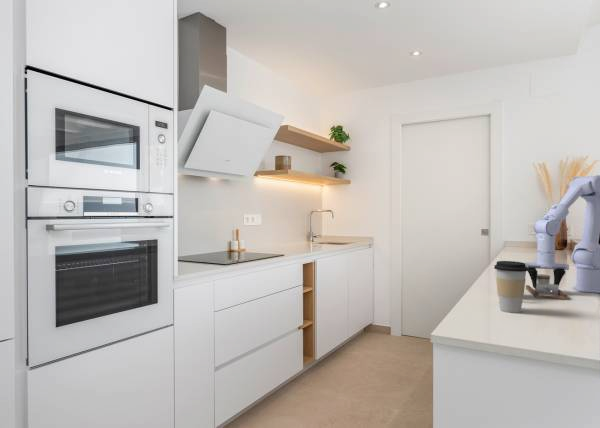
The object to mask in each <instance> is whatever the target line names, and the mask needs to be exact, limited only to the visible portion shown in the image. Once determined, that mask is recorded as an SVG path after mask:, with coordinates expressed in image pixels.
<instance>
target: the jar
mask: <svg viewBox="0 0 600 428" xmlns="http://www.w3.org/2000/svg"><path fill="white" fill-rule="evenodd" d="M550 279H551V275H549V274H544V273H542V274H541V273H537V283H541V284H551V283H550ZM534 290H535V291H536V288H534Z"/></svg>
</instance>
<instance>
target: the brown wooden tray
mask: <svg viewBox="0 0 600 428" xmlns="http://www.w3.org/2000/svg"><path fill="white" fill-rule="evenodd" d="M525 290H527V292H529V294H531V295H532V296H533V297H534V298H535V299H547V300H561V301H569V299H570V298H569V296H568V294H567V293H565V292H564V291H562V290H561V289H559V288H558V296H552V295H538V292H536V291H535V288H533V287H531V286H530V285H529V284H525Z"/></svg>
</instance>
